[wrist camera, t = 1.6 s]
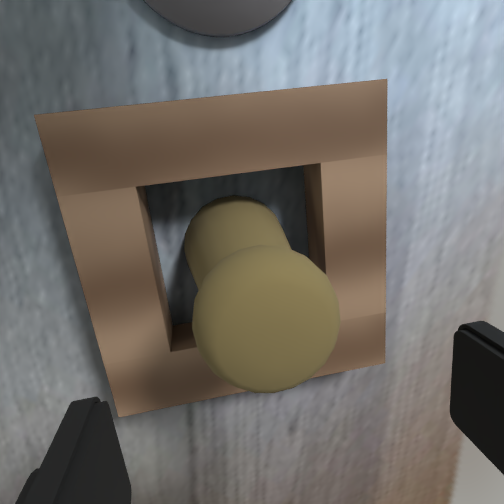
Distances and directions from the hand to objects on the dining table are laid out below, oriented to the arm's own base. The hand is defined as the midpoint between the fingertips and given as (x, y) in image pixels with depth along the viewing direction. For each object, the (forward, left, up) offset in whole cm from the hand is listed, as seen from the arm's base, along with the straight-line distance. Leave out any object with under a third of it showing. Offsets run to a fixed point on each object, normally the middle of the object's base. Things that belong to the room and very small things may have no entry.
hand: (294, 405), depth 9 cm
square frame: (-1, 0, -13) cm, 13 cm away
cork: (-1, 0, -13) cm, 13 cm away
